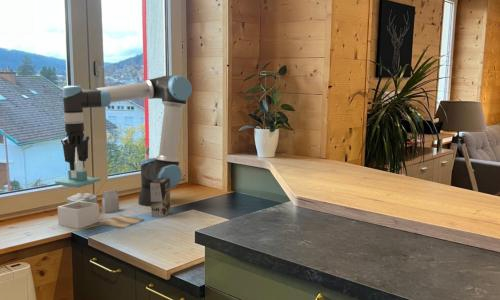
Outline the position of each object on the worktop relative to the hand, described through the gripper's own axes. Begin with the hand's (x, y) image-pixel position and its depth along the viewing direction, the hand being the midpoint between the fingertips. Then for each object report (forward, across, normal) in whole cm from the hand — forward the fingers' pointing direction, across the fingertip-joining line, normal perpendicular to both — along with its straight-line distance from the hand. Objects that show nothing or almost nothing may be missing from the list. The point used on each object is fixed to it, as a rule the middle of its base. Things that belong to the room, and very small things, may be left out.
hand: (77, 176), depth 204 cm
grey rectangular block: (+21, -20, -2) cm, 29 cm away
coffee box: (+21, -27, +23) cm, 41 cm away
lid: (+2, 0, 0) cm, 2 cm away
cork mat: (+21, -9, +15) cm, 27 cm away
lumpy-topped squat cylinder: (+21, -13, -13) cm, 28 cm away
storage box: (+21, +1, 0) cm, 21 cm away
